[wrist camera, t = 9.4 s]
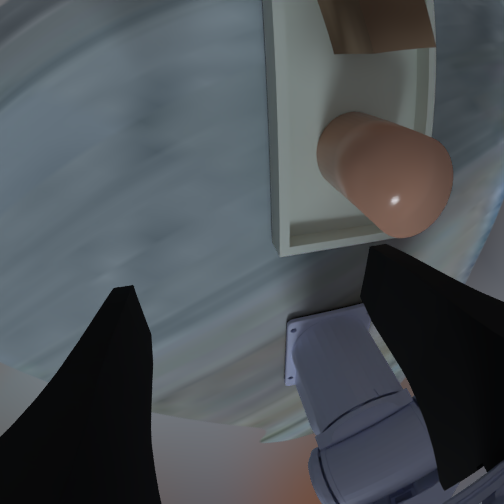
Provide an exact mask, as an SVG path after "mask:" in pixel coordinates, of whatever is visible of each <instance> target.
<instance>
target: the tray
mask: <svg viewBox="0 0 504 504" xmlns="http://www.w3.org/2000/svg"><path fill="white" fill-rule="evenodd" d="M262 3H263V19H264V37H265V55H266V75H267V97H268V121H269V147H270V178H271V214H272V243H273V245H274V247H275V249H276V251H277V253H278V255H279V257H285V256H291V255H297V254H303V253H309V252H315V251H321V250H327V249H333V248H339V247H345V246H351V245H357V244H363V243H369V242H375V241H381V240H387V239H393V238H395V237H391V236H389V235H387V234H385V233H384V232H383V231H382V230H380V229H379V228H378V227H377V226H376V225H375V224H374V223H373V222H372V221H371V220H370V219H369V218H368V217H367V216H365V215H364V214H363V213H362V212H361V211H360V210H359V209H358V208H357V207H356V206H354V205H353V204H352V203H351V202H350V201H349V200H348V199H347V198H345V197H344V196H343V195H342V194H341V193H340V192H339V191H337V190H336V189H335V188H334V187H333V186H332V185H330V184H329V183H328V182H327V181H326V180H325V179H324V177H323V176H322V174H321V172H320V170H319V168H318V164H317V157H316V151H317V144H318V141H319V138H320V136H321V134H322V132H323V130H324V129H325V127H326V126H327V125H328V124H329V123H330V122H331V121H332V120H333V119H335V118H336V117H338V116H339V115H342V114H344V113H348V112H363V113H366V114H369V115H372V116H375V117H378V118H381V119H384V120H387V121H390V122H393V123H396V124H398V125H401V126H404V127H406V128H409V129H412V130H414V131H417V132H419V133H422V134H424V135H427V136H429V137H432V127H433V116H434V102H435V82H436V47H433V48H419V49H409V50H399V51H391V52H383V53H376V54H334V51H333V48H332V45H331V41H330V38H329V35H328V31H327V28H326V25H325V22H324V19H323V16H322V13H321V10H320V7H319V4H318V1H317V0H262ZM425 3H426V7H427V10H428V14H429V18H430V22H431V26H432V30H433V34H434V39H435V43H436V33H435V13H434V0H425Z"/></svg>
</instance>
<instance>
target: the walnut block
mask: <svg viewBox="0 0 504 504" xmlns="http://www.w3.org/2000/svg"><path fill="white" fill-rule="evenodd" d="M317 1H318V4H319V7H320V10H321V13H322V16H323V19H324V22H325V25H326V28H327V31H328V35H329V38H330V41H331V45H332V48H333V51H334V54H376V53H383V52H391V51H399V50H409V49H419V48H433V47H436V43H435V39H434V34H433V30H432V26H431V22H430V18H429V14H428V10H427V7H426V3H425V0H317Z"/></svg>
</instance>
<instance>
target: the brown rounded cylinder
mask: <svg viewBox="0 0 504 504" xmlns="http://www.w3.org/2000/svg"><path fill="white" fill-rule="evenodd" d="M316 157H317V164H318V168H319V170H320V172H321V174H322V176H323V177H324V179H325V180H326V181H327V182H328V183H329V184H330V185H332V186H333V187H334V188H335V189H336V190H337V191H339V192H340V193H341V194H342V195H343V196H344V197H345V198H347V199H348V200H349V201H350V202H351V203H352V204H353V205H354V206H356V207H357V208H358V209H359V210H360V211H361V212H362V213H363V214H364V215H365V216H367V217H368V218H369V219H370V220H371V221H372V222H373V223H374V224H375V225H376V226H377V227H378V228H379V229H380V230H382V231H383V232H384V233H385V234H387V235H389V236H391V237H395V238H407V237H411V236H414V235H417V234H419V233H421V232H422V231H424V230H425V229H427V228H428V227H429V226H430V225H431V224H433V222H434V221H435V220H436V219H437V218H438V217H439V215H440V214H441V212H442V211H443V209H444V208H445V206H446V204H447V201H448V199H449V196H450V193H451V189H452V184H453V167H452V162H451V159H450V156H449V154H448V152H447V150H446V149H445V147H444V146H443V145H442V144H441V143H440V142H439V141H437V140H436V139H434V138H432V137H429V136H427V135H424V134H422V133H419V132H417V131H414V130H412V129H409V128H406V127H404V126H401V125H398V124H396V123H393V122H390V121H387V120H384V119H381V118H378V117H375V116H372V115H369V114H366V113H363V112H348V113H344V114H342V115H339V116H338V117H336V118H335V119H333V120H332V121H331V122H330V123H329V124H328V125H327V126H326V127H325V129H324V130H323V132H322V134H321V136H320V138H319V141H318V144H317V151H316Z"/></svg>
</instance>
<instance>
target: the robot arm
mask: <svg viewBox="0 0 504 504" xmlns="http://www.w3.org/2000/svg"><path fill="white" fill-rule="evenodd" d="M360 297H361V299H362V301H363V303H362V304H358V305H354V306H350V307H345V308H341V309H337V310H333V311H328V312H324V313H319V314H315V315H310V316H305V317H301V318H296V319H292V320H290V321H289V322H288V323H287V333H286V358H285V379H284V382H285V385H286V386H291V385H296V387H297V390H298V393H299V396H300V398H301V401H302V404H303V407H304V409H305V412H306V415H307V418H308V420H309V423H310V426H311V428H312V430H313V432H314V433H315V435H316V437H315V438H316V441H317V444H318V447H317V448H315V449H313V450H312V452H311V456H310V458H309V462H308V468H309V474H310V479H311V482H312V485H313V487H314V490H315V492H316V494H317V496H318V498H319V500H320V501H321V503H322V504H479V503H480V502H482V504H504V302H503V301H500V300H498V299H496V298H493V297H491V296H489V295H486V294H484V293H482V292H479V291H477V290H475V289H473V288H471V287H469V286H467V285H465V284H463V283H461V282H459V281H457V280H455V279H453V278H451V277H449V276H447V275H446V274H444V273H442V272H440V271H438V270H436V269H434V268H433V267H431V266H429V265H427V264H425V263H423V262H421V261H420V260H418V259H416V258H414V257H412V256H410V255H408V254H406V253H404V252H402V251H400V250H398V249H396V248H394V247H392V246H389V245H387V244H383V245H377V246H371V247H370V248H369V254H368V259H367V265H366V270H365V275H364V280H363V285H362V290H361V295H360ZM371 321H372V322H373V324H374V326H375V327H376V329H377V331H378V332H379V334H380V335H381V337H382V339H383V340H384V342H385V343H386V345H387V347H388V348H389V350H390V351H391V353H392V355H393V356H394V358H395V359H396V361H397V363H398V364H399V366H400V367H401V369H402V371H403V373H404V374H405V376H406V378H407V380H408V382H409V383H410V386H411V388H412V391H413V393H414V395H415V396H413V397H411V395H410V393H409V391H408V390H407V388H405V389H403V388H402V387H401V385H400V383H399V381H398V380H397V378H396V376H395V375H394V373H393V371H392V369H391V368H390V366H389V364H388V363H387V361H386V359H385V358H384V356H383V355H382V353H381V351H380V350H379V348H378V346H377V345H376V343H375V341H374V340H373V338H372V337H371V335H370V333H369V332H368V330H369V326H370V323H371ZM152 378H153V354H152V338H151V332H150V330H149V327H148V325H147V322H146V319H145V317H144V314H143V311H142V309H141V306H140V303H139V300H138V297H137V295H136V292H135V289H134V286H133V285H131V286H124V287H117V288H113V290H112V291H111V293H110V294H109V296H108V297H107V299H106V300H105V302H104V303H103V305H102V306H101V308H100V309H99V311H98V312H97V314H96V315H95V317H94V318H93V320H92V322H91V323H90V325H89V326H88V328H87V329H86V331H85V332H84V334H83V335H82V337H81V338H80V340H79V341H78V343H77V344H76V346H75V347H74V349H73V350H72V351H71V353H70V354H69V356H68V357H67V359H66V360H65V362H64V363H63V364H62V366H61V367H60V369H59V370H58V371H57V373H56V374H55V375H54V377H53V378H52V379H51V381H50V382H49V383H48V384H47V386H46V387H45V388H44V389H43V391H42V392H41V393H40V394H39V396H38V397H37V398H36V399H35V400H34V401H33V403H32V404H31V405H30V406H29V407H28V408H27V409H26V410H25V412H24V413H23V414H22V415H21V416H20V417H19V418H18V419H17V420H16V421H15V423H14V424H13V425H12V426H11V427H10V428H9V429H8V430H7V431H6V432H5V433H4V434H3V435H2V436H1V437H0V504H161V500H160V495H159V490H158V484H157V479H156V473H155V466H154V459H153V452H152V451H153V450H152V442H151V403H152ZM483 466H484V467H485V469H486V471H487V473H486V474H485V475H483V476H482V477H481V478H480V479H478V480H477V481H475V482H474V483H473V484H471V485H470V486H468V487H467V488H465V489H464V490H462V491H461V492H459V493H458V494H456V495H455V496H453V497H452V495H453V493H454V492H455V490H456V488H457V487H458V485H459V483H460V482H461V481H462V480H464V479H465V478H467V477H468V476H470V475H471V474H473V473H475V472H476V471H477V470H479V469H480V468H482V467H483ZM451 497H452V498H451Z"/></svg>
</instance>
